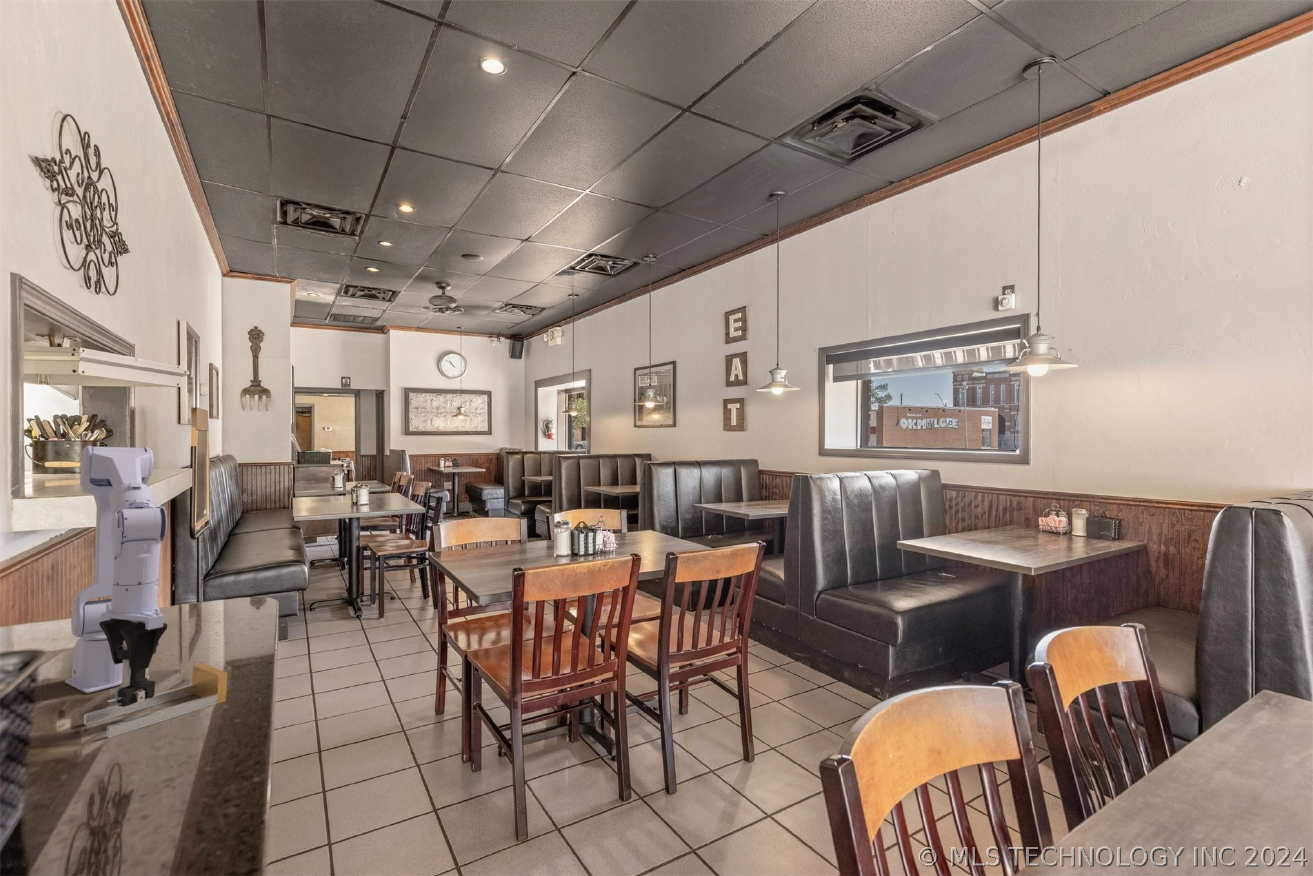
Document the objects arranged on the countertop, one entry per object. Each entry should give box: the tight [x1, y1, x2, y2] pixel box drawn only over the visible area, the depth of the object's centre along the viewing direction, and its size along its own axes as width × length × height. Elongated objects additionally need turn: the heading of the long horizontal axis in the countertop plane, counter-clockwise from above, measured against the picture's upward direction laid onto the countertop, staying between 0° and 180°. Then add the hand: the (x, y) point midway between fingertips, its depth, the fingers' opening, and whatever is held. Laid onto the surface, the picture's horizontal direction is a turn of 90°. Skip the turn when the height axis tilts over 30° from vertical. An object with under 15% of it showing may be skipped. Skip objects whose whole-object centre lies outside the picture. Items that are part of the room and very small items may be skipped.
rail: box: [83, 662, 228, 739], centre depth 102 cm, size 9×16×5 cm, turn 152°
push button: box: [105, 640, 159, 708], centre depth 98 cm, size 7×5×10 cm
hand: (130, 666), depth 98 cm, fingers closed on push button, 5 cm apart
